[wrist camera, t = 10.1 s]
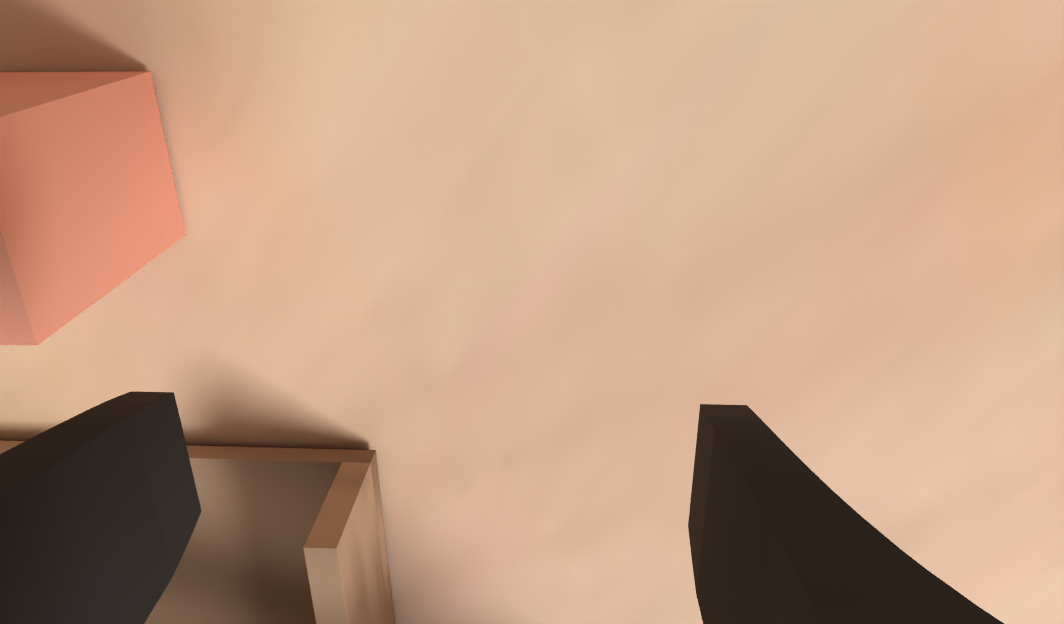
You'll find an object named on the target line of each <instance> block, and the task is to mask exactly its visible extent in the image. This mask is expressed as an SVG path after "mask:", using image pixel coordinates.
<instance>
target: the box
mask: <svg viewBox="0 0 1064 624" xmlns="http://www.w3.org/2000/svg"><path fill="white" fill-rule="evenodd" d="M23 442H25V441H0V454H1V453H3V452H5V451H7V450H9V449H11V448H13V447H15V446H17V445H19V444H21V443H23ZM186 447H187V451H188V455H189V459H190V464H191V468H192V472H193V476H194V481H195V485H196V489H197V493H198V498H199V502H200V506H201V510H202V512H201V514H200V516H199V519H198V521H197V523H196V526H195V528H194V531H193V533H192V535H191V538H190V540H189V543H188V545H187V547H186V549H185V552H184V554H183V556H182V558H181V560H180V562H179V564H178V567H177V569H176V571H175V573H174V575H173V577H172V579H171V580H170V582H169V584H168V585H167V587H166V589H165V591H164V592H163V594H162V596H161V597H160V599H159V600H158V602H157V604H156V605H155V607H154V609H153V610H152V612H151V614H150V615H149V617H148V618H147V620H146V622H145V623H144V624H395V620H394V611H393V602H392V593H391V584H390V575H389V566H388V557H387V548H386V539H385V530H384V521H383V512H382V503H381V494H380V485H379V476H378V467H377V458H376V450H346V449H307V448H268V447H229V446H191V445H186Z"/></svg>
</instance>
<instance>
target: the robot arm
mask: <svg viewBox="0 0 1064 624" xmlns="http://www.w3.org/2000/svg"><path fill="white" fill-rule="evenodd" d="M201 512H202V510H201V506H200V502H199V498H198V493H197V489H196V485H195V481H194V476H193V472H192V468H191V464H190V459H189V455H188V451H187V447H186V442H185V438H184V434H183V430H182V425H181V421H180V417H179V413H178V408H177V404H176V400H175V396H174V393H170V392H129V393H126V394H124V395H121V396H118V397H116V398H113V399H111V400H109V401H106V402H104V403H102V404H100V405H98V406H95V407H93V408H91V409H89V410H87V411H85V412H83V413H81V414H79V415H77V416H75V417H73V418H71V419H69V420H67V421H64V422H62V423H60V424H58V425H57V426H55V427H53V428H51V429H49V430H47V431H45V432H43V433H41V434H39V435H37V436H35V437H33V438H31V439H29V440H27V441H25V442H23V443H21V444H19V445H17V446H15V447H13V448H11V449H9V450H7V451H5V452H3V453H1V454H0V624H144V623H145V622H146V620H147V618H148V617H149V615H150V614H151V612H152V610H153V609H154V607H155V605H156V604H157V602H158V600H159V599H160V597H161V596H162V594H163V592H164V591H165V589H166V587H167V585H168V584H169V582H170V580H171V579H172V577H173V575H174V573H175V571H176V569H177V567H178V564H179V562H180V560H181V558H182V556H183V554H184V552H185V549H186V547H187V545H188V543H189V540H190V538H191V535H192V533H193V531H194V528H195V526H196V523H197V521H198V519H199V516H200V514H201ZM688 528H689V537H690V546H691V555H692V563H693V571H694V579H695V587H696V594H697V599H698V603H699V607H700V611H701V616H702V620H703V624H1004V623H1002V622H1001V621H999V620H998V619H996V618H995V617H993V616H992V615H990V614H989V613H987V612H986V611H984V610H983V609H981V608H980V607H978V606H977V605H975V604H974V603H972V602H971V601H970V600H968V599H967V598H966V597H964V596H963V595H961V594H960V593H959V592H957V591H956V590H954V589H953V588H952V587H950V586H949V585H947V584H946V583H945V582H943V581H942V580H940V579H939V578H938V577H936V576H935V575H933V574H932V573H931V572H929V571H928V570H927V569H925V568H924V567H923V566H921V565H920V564H919V563H917V562H916V561H915V560H914V559H912V558H911V557H910V556H908V555H907V554H906V553H905V552H903V551H902V550H901V549H899V548H898V547H897V546H896V545H895V544H894V543H892V542H891V541H890V540H889V539H888V538H886V537H885V536H884V535H883V534H882V533H880V532H879V531H878V530H877V529H876V528H874V527H873V526H872V525H871V524H870V523H868V522H867V521H866V520H865V519H864V518H862V517H861V516H860V515H859V514H858V513H857V512H856V511H855V510H853V509H852V508H851V507H850V506H849V505H848V504H847V503H846V502H844V501H843V500H842V499H841V498H840V497H839V496H838V495H837V494H836V493H835V492H833V491H832V490H831V489H830V488H829V487H828V486H827V485H826V484H825V483H824V482H823V481H822V480H821V479H820V478H819V477H818V476H817V475H815V474H814V473H813V472H812V471H811V470H810V469H809V468H808V467H807V466H806V465H805V464H804V463H803V462H802V461H801V460H800V459H799V458H798V457H797V456H796V455H795V454H794V453H793V452H792V451H791V450H790V449H789V448H788V447H787V446H786V445H785V444H784V443H783V442H782V441H781V440H780V439H779V438H778V437H777V436H776V435H775V433H774V432H773V431H772V430H771V429H770V428H769V427H768V426H767V425H766V424H765V423H764V422H763V421H762V420H761V419H760V418H759V417H758V416H757V415H756V414H755V413H754V412H753V411H752V410H751V409H750V408H749V407H748V406H747V405H709V404H700V413H699V423H698V433H697V443H696V453H695V463H694V473H693V483H692V493H691V503H690V513H689V523H688Z"/></svg>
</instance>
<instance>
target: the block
mask: <svg viewBox="0 0 1064 624" xmlns="http://www.w3.org/2000/svg"><path fill="white" fill-rule="evenodd" d="M183 236H185V230H184V226H183V221H182V216H181V212H180V207H179V202H178V198H177V193H176V188H175V184H174V179H173V174H172V169H171V165H170V160H169V155H168V151H167V146H166V141H165V137H164V132H163V127H162V122H161V118H160V113H159V108H158V104H157V99H156V94H155V90H154V85H153V80H152V76H151V71H119V72H0V345H39V344H40V343H42V342H43V341H44V340H46V339H47V338H48V337H50V336H51V335H52V334H54V333H55V332H56V331H58V330H59V329H60V328H62V327H63V326H64V325H66V324H67V323H68V322H70V321H71V320H72V319H74V318H75V317H76V316H78V315H79V314H80V313H82V312H83V311H84V310H86V309H87V308H88V307H90V306H91V305H92V304H94V303H95V302H96V301H98V300H99V299H100V298H102V297H103V296H104V295H106V294H107V293H108V292H110V291H111V290H112V289H114V288H115V287H116V286H118V285H119V284H120V283H122V282H123V281H124V280H126V279H127V278H129V277H130V276H131V275H133V274H134V273H135V272H137V271H138V270H139V269H141V268H142V267H143V266H145V265H146V264H147V263H149V262H150V261H151V260H153V259H154V258H155V257H157V256H158V255H159V254H161V253H162V252H163V251H165V250H166V249H167V248H169V247H170V246H171V245H173V244H174V243H175V242H177V241H178V240H179V239H181V238H182V237H183Z"/></svg>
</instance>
